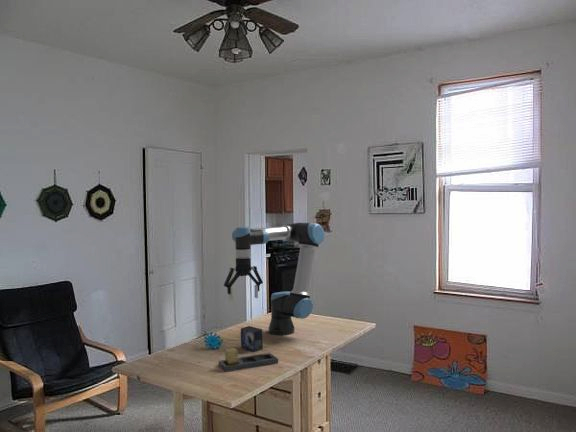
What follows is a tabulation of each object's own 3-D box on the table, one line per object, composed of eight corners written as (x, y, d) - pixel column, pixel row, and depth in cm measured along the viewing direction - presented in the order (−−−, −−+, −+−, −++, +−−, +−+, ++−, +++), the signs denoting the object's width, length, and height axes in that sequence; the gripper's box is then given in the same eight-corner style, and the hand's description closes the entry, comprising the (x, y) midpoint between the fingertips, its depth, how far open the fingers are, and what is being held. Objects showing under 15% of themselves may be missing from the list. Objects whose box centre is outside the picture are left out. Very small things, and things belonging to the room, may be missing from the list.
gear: (206, 348, 249) (203, 331, 256) (202, 354, 253) (199, 337, 259) (226, 348, 255) (222, 331, 261) (222, 353, 258) (218, 337, 265)
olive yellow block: (234, 364, 229) (234, 347, 229) (237, 367, 225) (237, 350, 225) (225, 366, 227) (225, 349, 227) (228, 369, 223) (227, 351, 223)
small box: (240, 347, 255) (239, 328, 255) (249, 345, 260) (249, 325, 259) (254, 352, 248) (253, 331, 247) (263, 349, 253) (263, 328, 252)
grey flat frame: (269, 356, 240) (269, 352, 240) (278, 362, 231) (278, 358, 231) (218, 365, 229) (218, 360, 229) (225, 371, 220) (225, 367, 219)
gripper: (263, 255, 256) (263, 295, 257) (217, 258, 245) (217, 300, 246) (268, 256, 249) (269, 298, 250) (221, 259, 239) (222, 303, 239)
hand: (243, 299), depth 248 cm, fingers open, 13 cm apart
